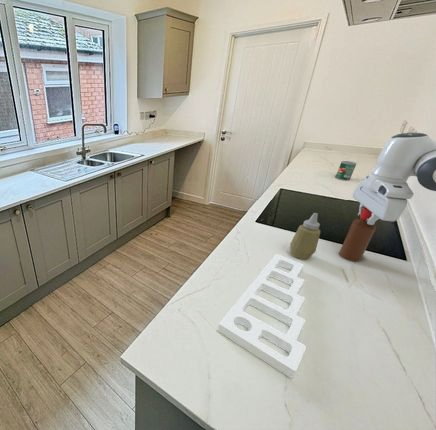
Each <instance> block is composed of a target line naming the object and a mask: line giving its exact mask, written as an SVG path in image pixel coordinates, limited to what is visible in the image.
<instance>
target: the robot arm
mask: <svg viewBox="0 0 436 430" xmlns="http://www.w3.org/2000/svg"><path fill="white" fill-rule="evenodd" d="M410 177H417V178H416V179H417V182H418V184H419V185H420V186H421V187H423V188H425V189H426V190H429V191H432V192H436V140H434V139H432V138H431V137H430V136H429V135H428V134H427V133H423V132H402V133H397V134H395V135H393V136H391V137H390V138H389V139H388V140H387V141H386V143H385V144H384V146H383V147H382V149H381V151H380V152H379V155H378V157H377V159H376V164H375V166H374V168H372V170H370V173H369V175H367V176H365V177H364V178H363V179H362V180H361V181H359V183H358V184H357V186H356V187H355V189H354V190H353V192H352V198H353V199H354V200H356V201H357V202H358V203H359V211H358V213H357V216H358V217H359V218H360V215H361V212H362V210H363V208H364V207H366V208H367V209H368V210H370V211H371V212H372V214H371V215H372V216H371V217H370V218H367V220H366V223H367V224H369V225H374V223H375V224H376V222H377V221H378V220H381V221H383V222H397V220H399V219H400V217H401V216H402V214H403V213H404V211H405V209H406V207H407V205H408V200H411V199H412V198H413V196H414V192H413V190H412V188H410V186H409V184H408V182H407V181H408V179H409V178H410Z"/></svg>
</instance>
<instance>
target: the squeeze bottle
mask: <svg viewBox="0 0 436 430" xmlns="http://www.w3.org/2000/svg"><path fill="white" fill-rule="evenodd" d="M318 216H319V214H318V213H317V212H314V213H312V215H311V216H310V218H309V219H305V220H304V221H303V224H300V225H299V226H298V228H297V230H296V231H295V234H294V236H293V237H292V239H291V241H290V245H289V246H290V254H291V255H292V256H293V257H295V258H296V259H299V260H305V261H306V260H309V258H311V257H312V256H313V255H314V254H315V253H316V251H317V247H318V243H319V240H320V237H321V236H320V235H321V229H320V225H321V224H320V223H319V222H318Z"/></svg>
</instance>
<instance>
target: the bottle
mask: <svg viewBox="0 0 436 430" xmlns="http://www.w3.org/2000/svg"><path fill="white" fill-rule="evenodd" d="M376 229H377V224H376V222H375V223H374V225H369V224H367V223H366V220H364V219H362V218H360V217H359V218H356V219H354V220H353V221H352V222H351V225H350V227H349V229H348V232H347V233H346V236H345V238H344V240H343V243H342V245H341V247H340V249H339V252H338V255H339V257H341V258H343V259H344V260H347V261H349V262H356V263H357V262H358V263H359V262H360V261H361V260H362V258H363V256H364V254H365V252H366V250H367V249H368V246H369V244H370V242H371V240H372V237H373V235H374V233H375V231H376Z"/></svg>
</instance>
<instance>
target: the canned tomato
mask: <svg viewBox="0 0 436 430" xmlns="http://www.w3.org/2000/svg"><path fill="white" fill-rule="evenodd" d="M356 166H357V162H355V161H354V162H353V161H350V160H349V161H346V160H342V161H340V164H339V166H338V169H337V172H336V174H335V179H337V180H341V181H350V180H351V177H352V175H353V173H354V170H355V169H356Z"/></svg>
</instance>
